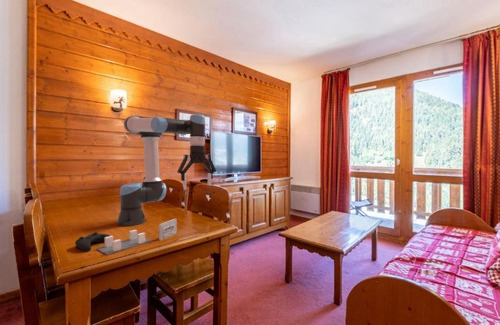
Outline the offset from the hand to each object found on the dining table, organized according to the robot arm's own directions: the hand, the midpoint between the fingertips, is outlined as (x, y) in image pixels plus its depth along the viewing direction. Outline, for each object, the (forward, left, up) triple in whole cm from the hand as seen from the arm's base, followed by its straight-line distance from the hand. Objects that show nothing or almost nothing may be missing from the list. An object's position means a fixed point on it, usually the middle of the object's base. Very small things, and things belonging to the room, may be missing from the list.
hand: (197, 186), depth 126 cm
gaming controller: (-26, -40, -25) cm, 54 cm away
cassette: (-9, -12, -25) cm, 29 cm away
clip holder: (-14, -31, -25) cm, 42 cm away
